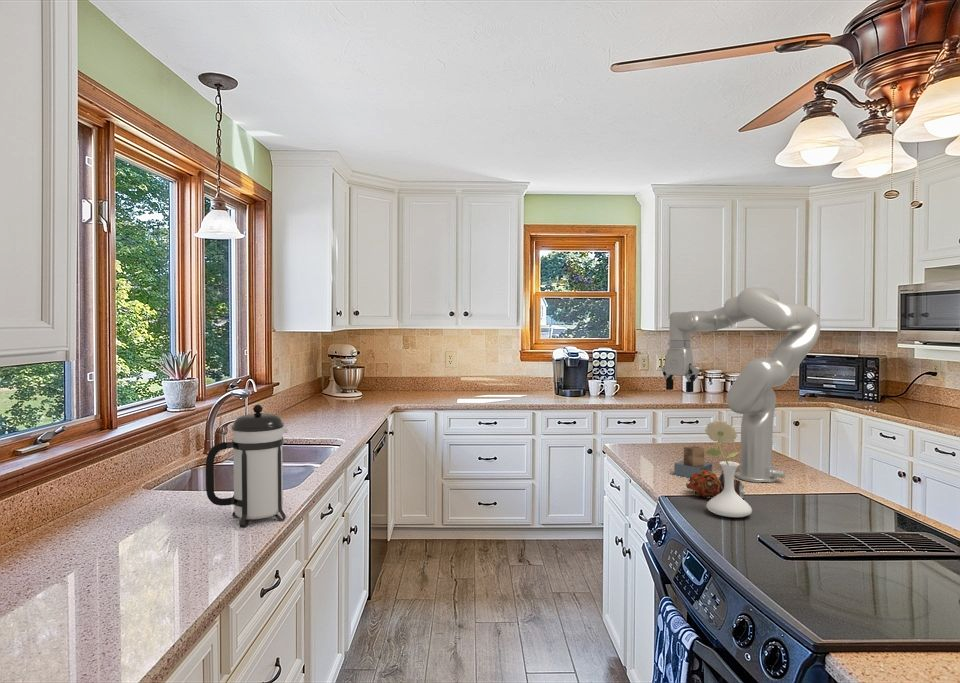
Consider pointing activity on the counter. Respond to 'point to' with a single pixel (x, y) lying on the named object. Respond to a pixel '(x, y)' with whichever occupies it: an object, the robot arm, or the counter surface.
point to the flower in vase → (726, 474)
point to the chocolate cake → (737, 485)
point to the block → (694, 455)
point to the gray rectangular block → (690, 469)
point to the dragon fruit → (705, 484)
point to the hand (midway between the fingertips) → (679, 390)
